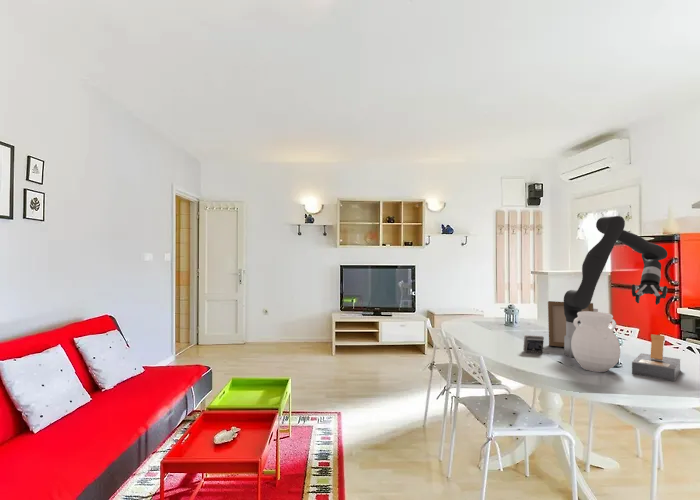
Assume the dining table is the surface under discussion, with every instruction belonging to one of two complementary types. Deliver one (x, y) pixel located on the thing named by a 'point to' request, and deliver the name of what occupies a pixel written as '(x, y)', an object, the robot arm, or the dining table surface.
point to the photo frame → (558, 322)
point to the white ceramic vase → (595, 341)
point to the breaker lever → (657, 347)
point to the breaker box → (656, 367)
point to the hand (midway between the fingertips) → (647, 302)
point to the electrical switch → (533, 344)
